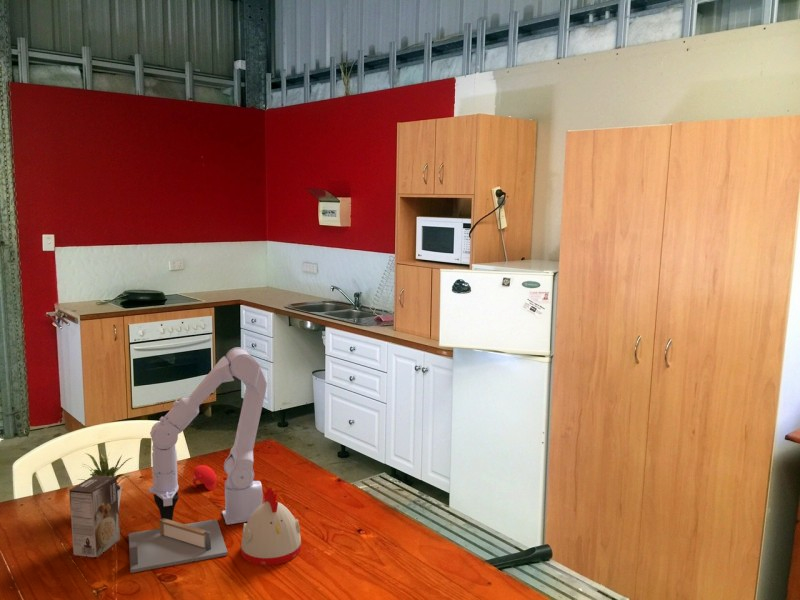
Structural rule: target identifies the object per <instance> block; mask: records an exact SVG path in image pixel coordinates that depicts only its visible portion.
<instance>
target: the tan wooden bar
mask: <svg viewBox="0 0 800 600" xmlns="http://www.w3.org/2000/svg"><path fill="white" fill-rule="evenodd" d="M158 521H159V522H158V524H159V525H158V526H159V528H160V535H165V536H168V537H171V538H175V539H178V540H181V541H184V542H188V543H191V544H194V545H197V546H200V547H206V546H205V532H206V530H202V529H199V528H196V527H192V526H189V525H185V524H186V523H185V524H184V523H181V522H179V521H175V520H173V519H172V520H169V519H165V518H163V519H161V518H160V519H159V520H158ZM159 528H158V529H159Z"/></svg>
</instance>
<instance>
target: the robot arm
mask: <svg viewBox="0 0 800 600" xmlns="http://www.w3.org/2000/svg"><path fill="white" fill-rule="evenodd" d="M233 377H235V378H237V379H238V380H240V381H242V383H243V384H244V386H245V390H244V391H245V392H244V396H243V400H242V405H241V409H240V414H239V419H238V424H237V428H236V433H235V438H234V444H233V446H232V447H231V449H230V451H229V455H228V457H227V458H226V459H225V461H224V462H223V469H224V472H225V474H227V475H226V476H227V478H226V480H225V482H224V502H225V503H224V504H225V505H224V508H225V510H222V511H221V513H222V517H223V519H224V522H225V524H226V525H233V524H234V525H235V524H239V523H240V524H241V523H246V522H248V520H249V518H250V516H251V515H252V513H253V512H254V511H255V510H256V509H257V508H258V507H259V506H260V505H261V504H263V503H264V492H263V486H262V482H261V481H260V480H254V479H255V471H254V469H253V468H254V467H253V466H254V448H255V443H256V439H257V432H258V429H259V423H260V419H261V414H262V411H263V410H262V409H263V404H264V401H265V395H266V391H267V386H268V385H267V381H266V378H265V375H264V373H263V371H262V369H261V364H260V363H259V362H258V361H257V360H256V359H255V358H254V357H253V356H252V355H251V354H250V353H249V352H248V351H247V349H245V348H243V347H238V346H237V347H233V348H231V349H229V350H228V351H227V353H226V355H224V356H222V357H221V358H220V359H219V360H218V362H217V363H216V364H215V365H214V366H213V368H212V369H211V370H210V371H209V372H208V374H207V375H206V376H205V377H204V378H203V379H202V380H201V382H200V384H199V385H198V386H197V387H195V390H193V391H192V392H191V394H190V395H188V396H186V397H181V398H180V399H179V400H176V399H175V400H174V401H173V403H172V405H173V406H172V407H171V409H169V411H168V412H167V413H166V414H165V415H164V416H161V417H160V418H159V421H158V422H155V423H154V424H153V425H152V428H151V431H150V432H149V434H150V438H151V441H152V442H151V443H152V446H151V448H152V452H151V458H152V459H151V460H152V461H151V462H152V463H151V464H152V483H153V486H150V487H149V488H148V493H149V494H153V499H154V503H155V504H156V506H157V507H158V508H157V509H158V510H159V514H160V520H161V519H163V518H165V519H169V520H172V521H173V517H174V512H175V507H176V504H177V502H178V500H179V492H178V490H179V488H180V487H179V484H178V460H177V459H178V454H177V450H176V444H177V442H178V439H179V434H181V433H182V432H183V431H184V430H185V429H186V428H187V427H188V425H190V424H191V423H192V422H193V420H194V419H195V418H196V417H197V416H198V415H199V413H200V406H201V405H202V403H203V402H204V401H205V400H206V399H207V398H208V397H209V396H210V395H211V394H212V393H214V391H215V390H216V389H217V388H219V386H220V385H221V384H223V383H227V382H228V383H229V382H233V381H235V379H234V378H233Z"/></svg>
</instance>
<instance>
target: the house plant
mask: <svg viewBox="0 0 800 600" xmlns="http://www.w3.org/2000/svg"><path fill="white" fill-rule="evenodd" d="M110 453H111V452H109V455H108V456H107V457H105V456H104V455H103V454H101V453H100V452H98V457H99V465H98V463H97V461H96V459H95V457H94V456H93V455H91V454H90V453H86V452H84V454H86V455H88V457H89V458H90V459H91V461H92V462H93V464H94V466H95V468H96V469H95V468H94V469H93V468H92V466H89V468H90V469H89V468H88V466H86V464H84V463H83V465H84V466H83V467H85V468H87V469H88V470H90V472H91V473H90V474H89V475H90V477H92V476H94V475H95V476H108V477H117V480H118V481H117V493H118V510H120V502H121V494H122V485H120V484H119V483H120V482H121V481H122V480H124V479H125V478H130V476H129V475H126V474H125V473H119V474H117V472H118V471H119V470H120V469H121V468H122V466H124V465H125V464H126V463H127V461H129V460H132V459H133V458H134V457H129V458H127V459H126V460H125V461H123V463H122V464H121V465H119V463H120V461H121V460H122V459H121V458H122V456H123V454H121V456H120V457H119V458H118V460H117V462H116V464H115V466H111V467H110V468H109V464H108V463H109V462H108V460H109V456H110ZM118 466H119V467H118ZM116 474H117V475H116ZM123 476H124V477H123ZM120 477H122V478H121V479H120V480H119V478H120ZM77 480H79V481H82V480H83V481H85V479H82V478H79V479H78V478H77Z"/></svg>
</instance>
